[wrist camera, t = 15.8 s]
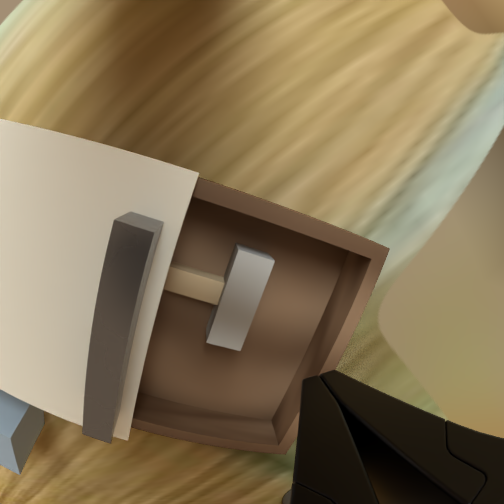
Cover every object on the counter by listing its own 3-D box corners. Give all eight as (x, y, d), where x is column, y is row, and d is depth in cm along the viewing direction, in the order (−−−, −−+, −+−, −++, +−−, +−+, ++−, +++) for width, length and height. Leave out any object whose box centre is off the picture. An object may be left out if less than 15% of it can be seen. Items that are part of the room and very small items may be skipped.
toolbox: (90, 144, 15) (64, 138, 11) (359, 235, 18) (389, 248, 15) (52, 360, 17) (32, 390, 14) (274, 420, 21) (285, 454, 17)
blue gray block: (-5, 362, 17) (-43, 407, 11) (42, 385, 18) (10, 438, 12) (0, 402, 17) (-29, 447, 12) (44, 423, 18) (20, 474, 13)
